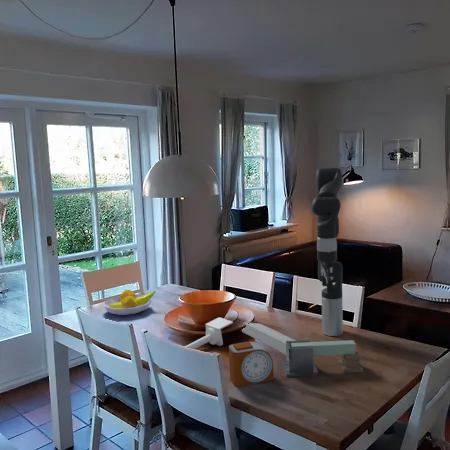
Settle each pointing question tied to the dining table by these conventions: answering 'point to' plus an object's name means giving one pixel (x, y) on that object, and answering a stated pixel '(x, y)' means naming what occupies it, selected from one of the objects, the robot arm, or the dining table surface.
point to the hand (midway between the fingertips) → (327, 289)
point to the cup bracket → (299, 360)
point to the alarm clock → (249, 364)
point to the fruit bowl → (128, 303)
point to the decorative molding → (267, 336)
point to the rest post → (350, 363)
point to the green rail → (329, 347)
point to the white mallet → (212, 333)
